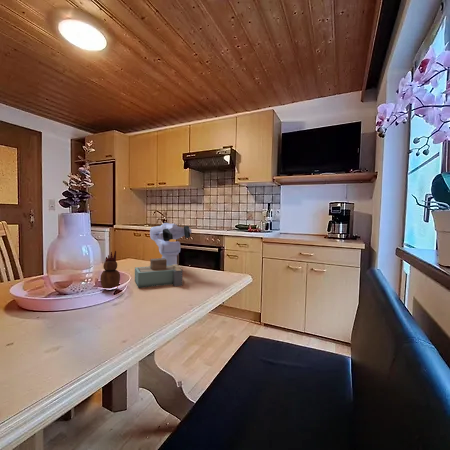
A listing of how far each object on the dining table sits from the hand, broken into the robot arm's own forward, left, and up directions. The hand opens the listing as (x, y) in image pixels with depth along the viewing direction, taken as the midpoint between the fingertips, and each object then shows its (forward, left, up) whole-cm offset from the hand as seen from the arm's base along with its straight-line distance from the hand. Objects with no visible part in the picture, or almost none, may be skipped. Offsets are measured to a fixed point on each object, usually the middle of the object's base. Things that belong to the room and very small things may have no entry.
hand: (180, 235), depth 112 cm
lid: (-3, -9, -15) cm, 18 cm away
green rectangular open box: (-2, -9, -20) cm, 22 cm away
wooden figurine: (0, -28, -21) cm, 35 cm away
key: (+2, -2, -14) cm, 14 cm away
